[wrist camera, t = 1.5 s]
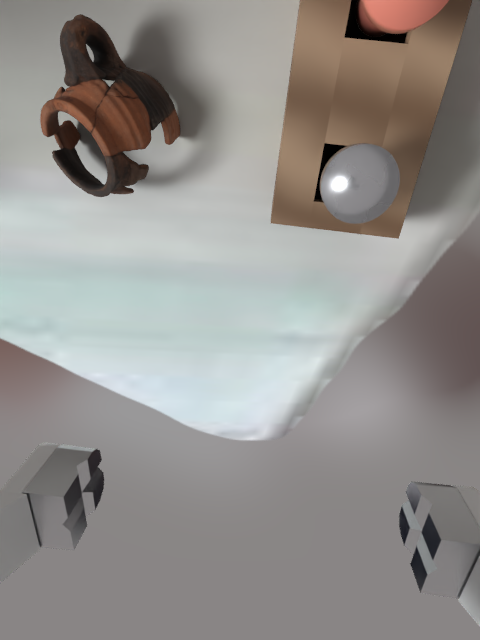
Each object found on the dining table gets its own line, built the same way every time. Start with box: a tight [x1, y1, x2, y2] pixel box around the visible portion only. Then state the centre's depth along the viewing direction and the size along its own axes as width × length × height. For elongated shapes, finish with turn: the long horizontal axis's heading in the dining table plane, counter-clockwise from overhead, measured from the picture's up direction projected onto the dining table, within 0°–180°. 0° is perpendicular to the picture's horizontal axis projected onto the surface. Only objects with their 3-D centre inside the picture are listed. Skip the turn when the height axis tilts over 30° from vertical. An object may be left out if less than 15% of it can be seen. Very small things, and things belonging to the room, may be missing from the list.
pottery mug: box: [41, 14, 180, 197], centre depth 29 cm, size 12×10×8 cm
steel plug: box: [320, 143, 400, 224], centre depth 25 cm, size 5×5×7 cm
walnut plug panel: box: [271, 0, 472, 238], centre depth 27 cm, size 18×10×6 cm, turn 174°
